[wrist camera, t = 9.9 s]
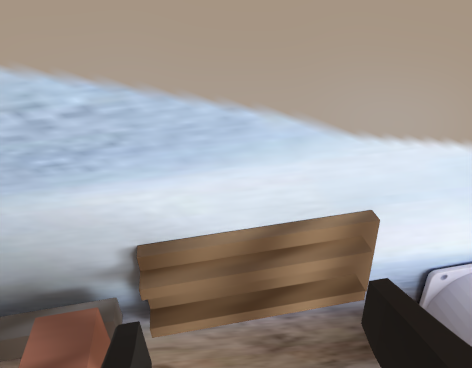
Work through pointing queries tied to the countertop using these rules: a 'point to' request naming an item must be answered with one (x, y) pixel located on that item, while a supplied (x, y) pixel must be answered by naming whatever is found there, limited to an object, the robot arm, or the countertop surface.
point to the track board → (256, 272)
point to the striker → (61, 335)
